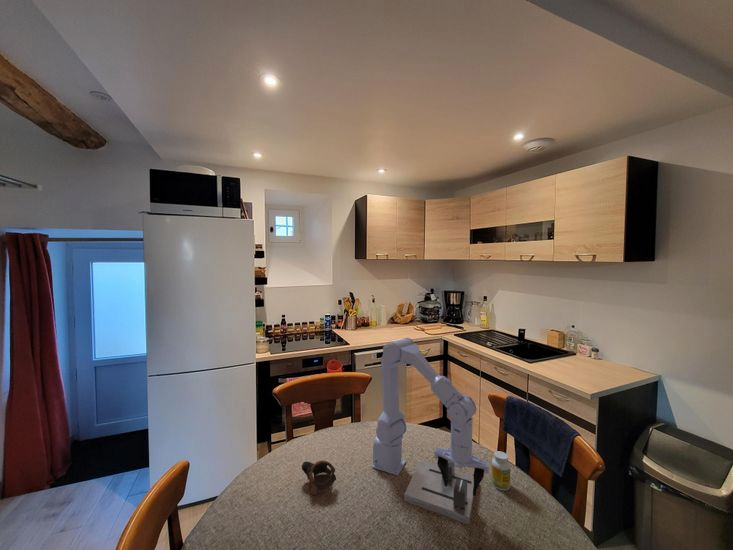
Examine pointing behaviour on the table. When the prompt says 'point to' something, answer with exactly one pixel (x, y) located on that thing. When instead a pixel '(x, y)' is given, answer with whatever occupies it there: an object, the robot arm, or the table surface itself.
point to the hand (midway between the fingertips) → (460, 488)
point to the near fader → (460, 493)
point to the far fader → (450, 470)
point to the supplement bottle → (500, 471)
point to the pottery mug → (317, 469)
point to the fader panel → (439, 492)
